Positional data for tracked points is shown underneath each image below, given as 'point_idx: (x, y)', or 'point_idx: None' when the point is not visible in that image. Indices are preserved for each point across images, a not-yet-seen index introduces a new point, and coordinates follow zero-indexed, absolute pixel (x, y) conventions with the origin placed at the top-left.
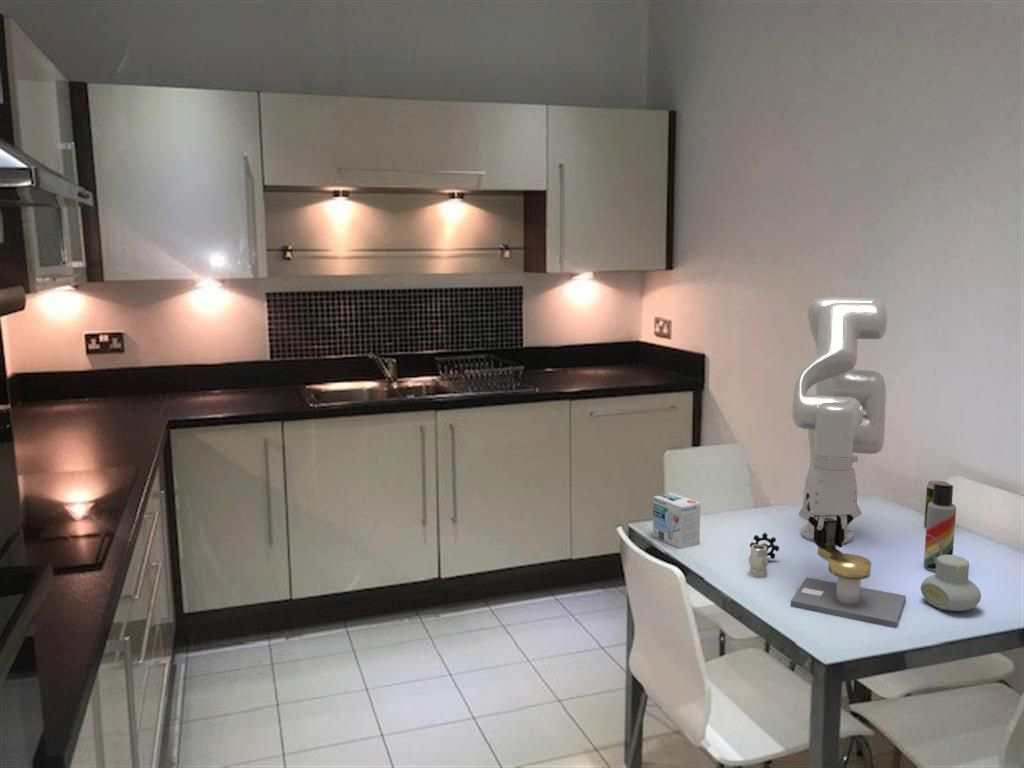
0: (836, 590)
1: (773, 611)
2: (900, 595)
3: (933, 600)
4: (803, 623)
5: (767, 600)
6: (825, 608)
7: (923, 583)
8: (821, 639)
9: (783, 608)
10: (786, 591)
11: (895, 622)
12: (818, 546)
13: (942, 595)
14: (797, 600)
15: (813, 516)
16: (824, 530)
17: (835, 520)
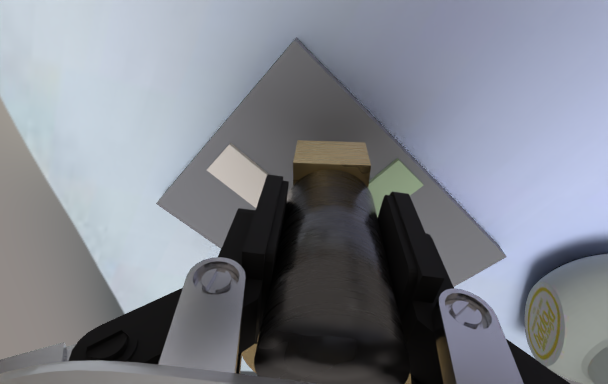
0: None
1: (107, 207)
2: (493, 252)
3: (534, 307)
4: (165, 272)
5: (104, 143)
6: None
7: (566, 307)
8: None
9: (139, 199)
10: (187, 97)
11: None
12: (293, 168)
13: (542, 349)
14: (176, 207)
15: (165, 353)
16: (257, 341)
17: (397, 376)
